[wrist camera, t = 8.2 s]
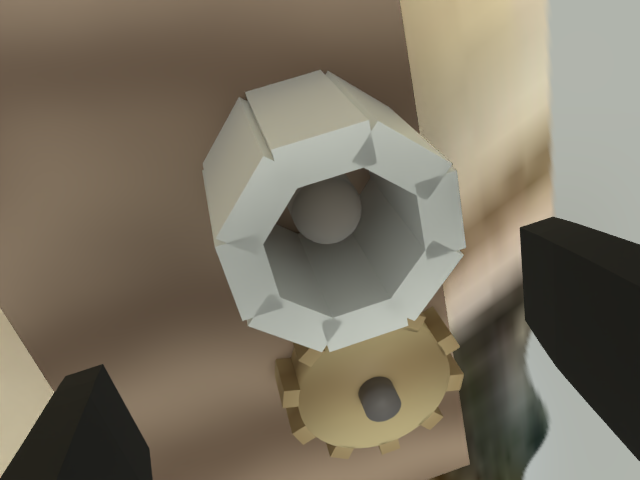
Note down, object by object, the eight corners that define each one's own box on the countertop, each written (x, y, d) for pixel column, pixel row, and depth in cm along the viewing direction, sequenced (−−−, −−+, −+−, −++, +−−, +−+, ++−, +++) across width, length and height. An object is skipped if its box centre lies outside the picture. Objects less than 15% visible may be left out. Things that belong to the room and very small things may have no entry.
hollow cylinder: (382, 51, 17) (448, 95, 13) (411, 226, 19) (472, 303, 16) (180, 110, 16) (187, 175, 12) (241, 280, 19) (262, 374, 15)
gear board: (457, 442, 27) (507, 533, 23) (169, 546, 26) (171, 659, 22) (364, -133, 15) (432, -144, 12) (-160, 10, 14) (-275, 49, 11)
